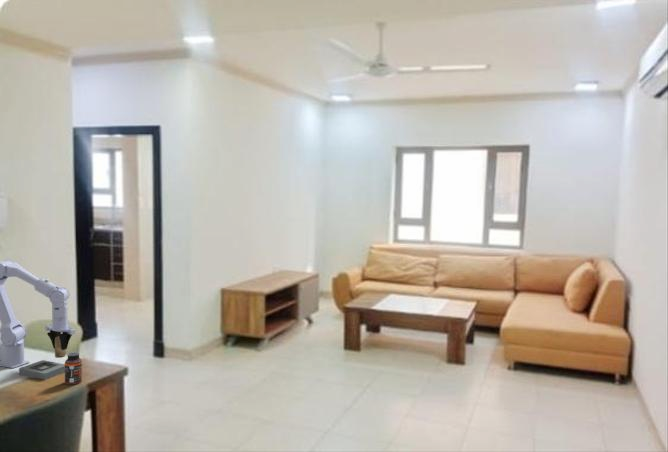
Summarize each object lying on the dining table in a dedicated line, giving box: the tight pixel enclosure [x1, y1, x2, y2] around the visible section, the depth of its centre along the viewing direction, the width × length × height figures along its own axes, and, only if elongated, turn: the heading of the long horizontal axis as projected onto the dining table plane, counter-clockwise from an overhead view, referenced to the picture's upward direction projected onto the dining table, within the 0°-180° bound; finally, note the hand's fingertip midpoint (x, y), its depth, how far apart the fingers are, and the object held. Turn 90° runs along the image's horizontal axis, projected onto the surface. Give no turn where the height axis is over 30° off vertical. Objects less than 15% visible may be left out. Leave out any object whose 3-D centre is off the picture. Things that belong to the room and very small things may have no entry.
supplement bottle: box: [64, 352, 83, 386], centre depth 206 cm, size 6×6×11 cm
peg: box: [54, 337, 67, 359], centre depth 225 cm, size 4×4×8 cm
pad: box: [37, 365, 50, 369], centre depth 216 cm, size 5×5×1 cm
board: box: [18, 359, 65, 381], centre depth 216 cm, size 14×11×3 cm
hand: (60, 348), depth 225 cm, fingers closed on peg, 4 cm apart
